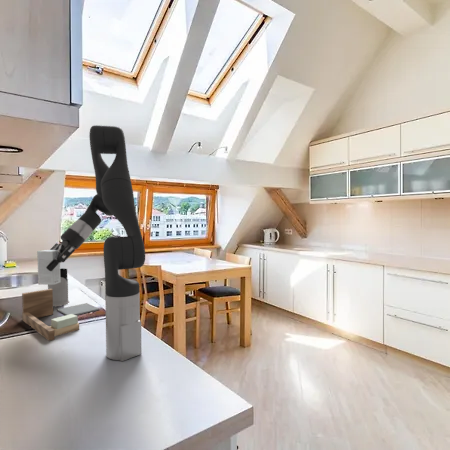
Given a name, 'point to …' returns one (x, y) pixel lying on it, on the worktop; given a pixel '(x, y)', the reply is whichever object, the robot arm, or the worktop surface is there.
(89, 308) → the rubber mat
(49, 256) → the skincare box
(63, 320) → the offcut top
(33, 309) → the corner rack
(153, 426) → the worktop surface
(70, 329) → the offcut bottom
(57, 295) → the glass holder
